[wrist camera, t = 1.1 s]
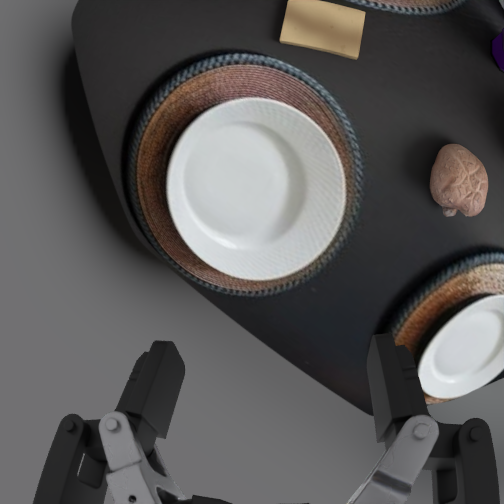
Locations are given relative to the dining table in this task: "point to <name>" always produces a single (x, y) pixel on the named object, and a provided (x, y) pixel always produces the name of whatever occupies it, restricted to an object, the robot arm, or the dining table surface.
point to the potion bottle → (498, 50)
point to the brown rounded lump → (458, 181)
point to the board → (323, 27)
